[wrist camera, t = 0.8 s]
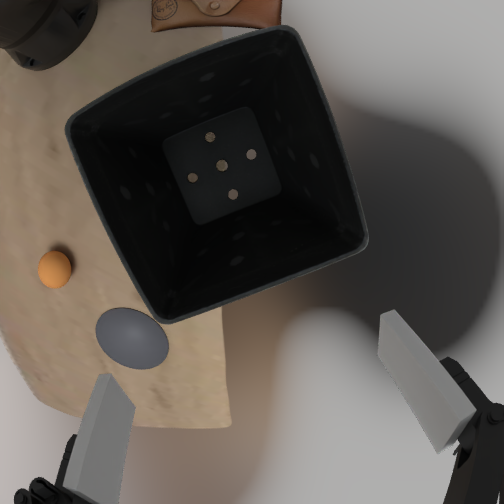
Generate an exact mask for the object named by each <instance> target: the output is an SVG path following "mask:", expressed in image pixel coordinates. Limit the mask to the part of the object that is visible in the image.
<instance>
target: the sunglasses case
mask: <svg viewBox="0 0 504 504" xmlns="http://www.w3.org/2000/svg"><path fill="white" fill-rule="evenodd" d="M281 13H282V0H152V21H151V24H152V31H151V32H160V31H165V30H169V29H176V28H184V27H201V26H222V27H242V28H253V29H259V30H260V29H264V28H267V27H272V26H277V25H281Z"/></svg>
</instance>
